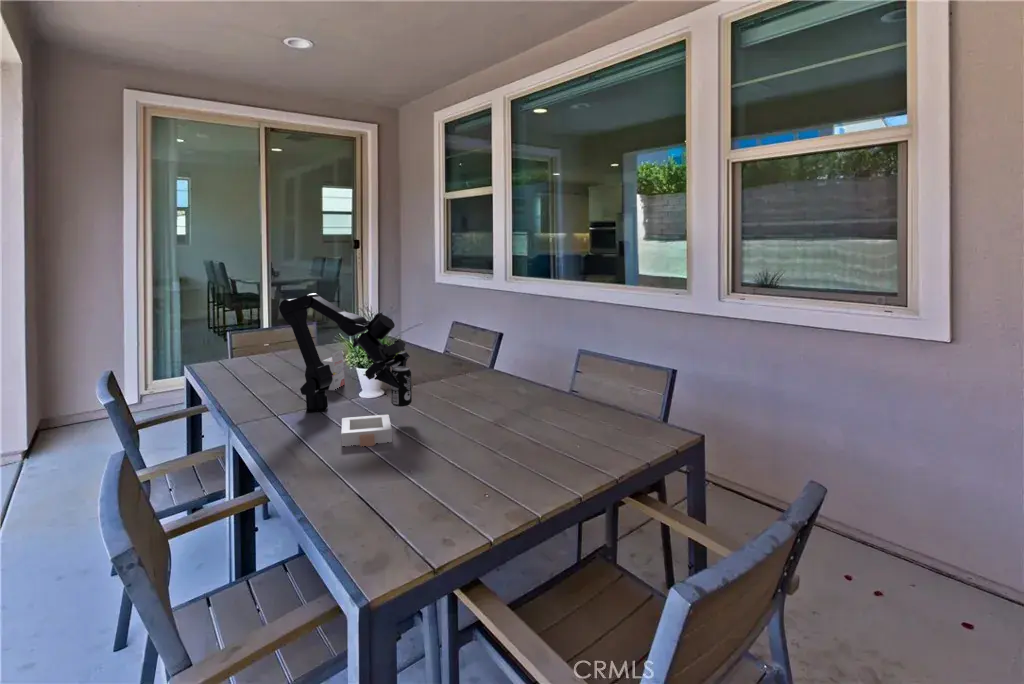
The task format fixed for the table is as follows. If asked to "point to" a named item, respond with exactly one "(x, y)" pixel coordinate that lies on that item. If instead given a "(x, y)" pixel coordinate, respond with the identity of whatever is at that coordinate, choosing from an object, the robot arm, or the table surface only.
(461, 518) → the table surface
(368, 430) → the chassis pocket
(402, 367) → the beverage can
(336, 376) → the ink cartridge box
